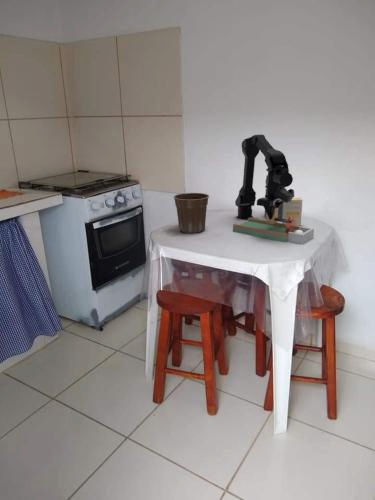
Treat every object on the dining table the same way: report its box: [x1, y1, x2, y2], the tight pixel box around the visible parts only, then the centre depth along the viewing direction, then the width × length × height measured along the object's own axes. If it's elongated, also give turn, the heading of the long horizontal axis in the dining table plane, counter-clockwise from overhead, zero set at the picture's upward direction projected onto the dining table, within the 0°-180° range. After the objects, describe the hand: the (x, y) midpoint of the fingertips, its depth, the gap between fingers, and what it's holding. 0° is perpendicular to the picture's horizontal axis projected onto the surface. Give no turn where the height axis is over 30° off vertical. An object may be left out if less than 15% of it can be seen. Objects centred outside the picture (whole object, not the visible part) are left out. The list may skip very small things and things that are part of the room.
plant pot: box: [173, 192, 210, 234], centre depth 182 cm, size 16×16×16 cm
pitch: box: [232, 217, 315, 245], centre depth 175 cm, size 33×14×4 cm, turn 50°
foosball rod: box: [265, 207, 296, 233], centre depth 171 cm, size 12×5×9 cm, turn 50°
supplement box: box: [281, 197, 303, 227], centre depth 185 cm, size 8×5×13 cm, turn 84°
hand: (272, 218), depth 174 cm, fingers closed on foosball rod, 3 cm apart
